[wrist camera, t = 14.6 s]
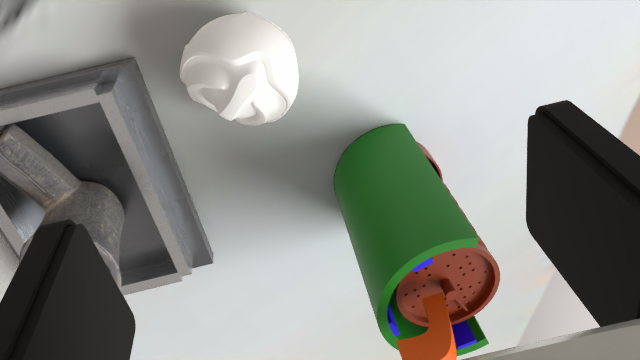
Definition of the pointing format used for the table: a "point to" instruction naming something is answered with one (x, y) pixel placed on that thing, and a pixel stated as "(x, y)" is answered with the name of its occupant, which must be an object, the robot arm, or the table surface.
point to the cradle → (109, 168)
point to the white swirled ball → (241, 68)
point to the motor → (414, 247)
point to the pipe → (62, 194)
